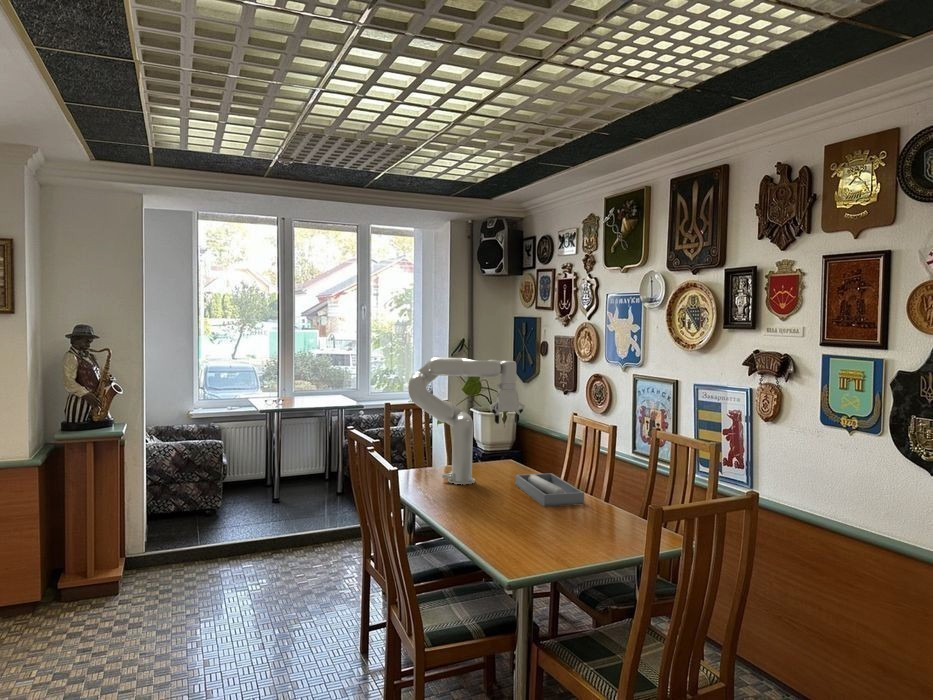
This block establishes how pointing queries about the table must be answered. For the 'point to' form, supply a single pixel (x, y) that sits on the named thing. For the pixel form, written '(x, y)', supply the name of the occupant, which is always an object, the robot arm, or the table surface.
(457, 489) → the table surface
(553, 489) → the tube
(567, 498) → the bin
